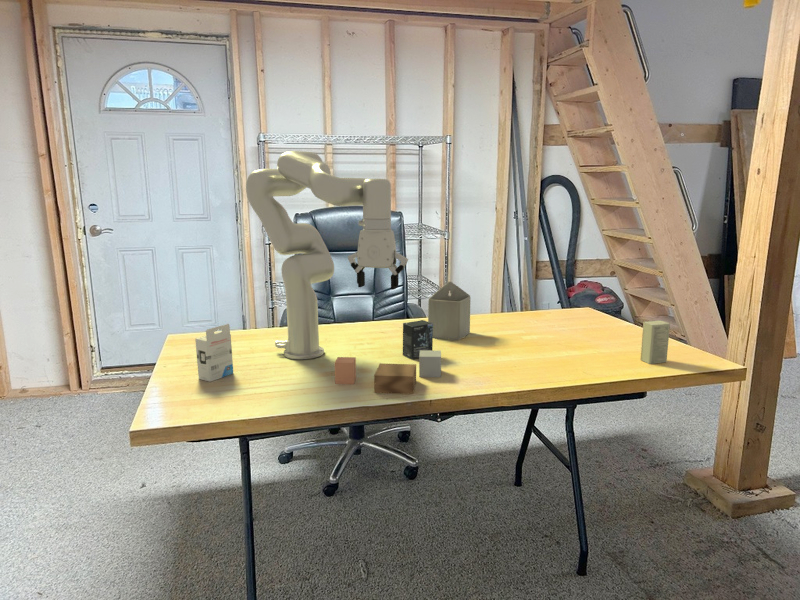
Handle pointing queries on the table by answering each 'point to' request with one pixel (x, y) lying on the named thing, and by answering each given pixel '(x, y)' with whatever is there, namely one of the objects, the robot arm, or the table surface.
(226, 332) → the ink box
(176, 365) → the table surface
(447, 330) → the planter
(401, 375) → the brown flat square block
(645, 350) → the skincare box
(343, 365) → the terracotta block
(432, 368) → the grey block
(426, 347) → the box
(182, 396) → the table surface
